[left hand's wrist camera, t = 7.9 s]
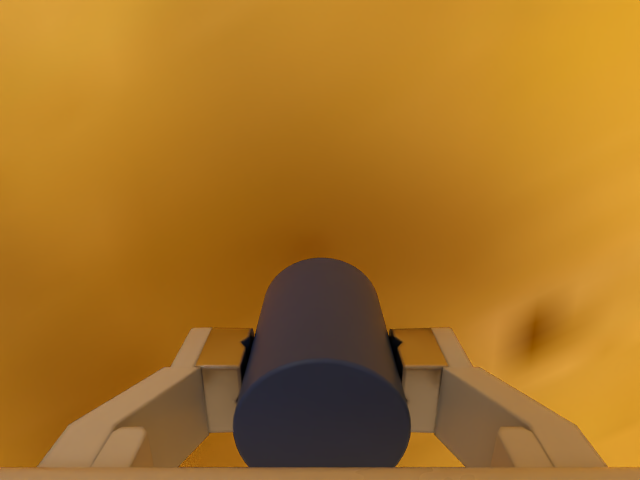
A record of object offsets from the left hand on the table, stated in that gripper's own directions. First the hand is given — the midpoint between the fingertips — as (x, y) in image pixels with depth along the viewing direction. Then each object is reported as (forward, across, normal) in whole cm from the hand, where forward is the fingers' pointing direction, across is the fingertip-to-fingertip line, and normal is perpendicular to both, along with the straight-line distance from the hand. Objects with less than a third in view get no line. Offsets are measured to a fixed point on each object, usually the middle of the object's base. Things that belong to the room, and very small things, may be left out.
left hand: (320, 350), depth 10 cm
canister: (+2, 0, 0) cm, 2 cm away
